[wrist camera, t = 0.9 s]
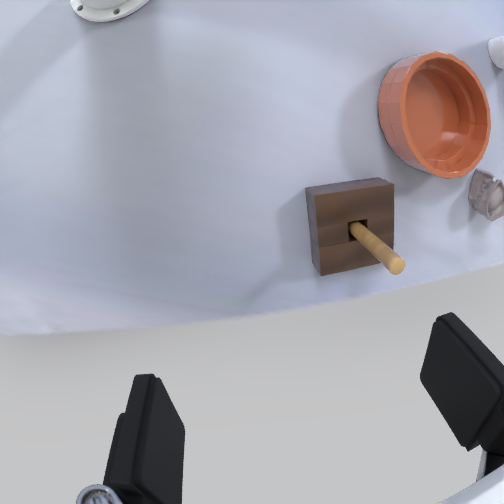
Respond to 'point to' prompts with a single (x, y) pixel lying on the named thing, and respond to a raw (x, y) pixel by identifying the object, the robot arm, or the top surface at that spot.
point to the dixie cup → (497, 51)
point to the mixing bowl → (435, 114)
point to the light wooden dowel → (377, 247)
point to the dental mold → (487, 195)
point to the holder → (347, 210)
